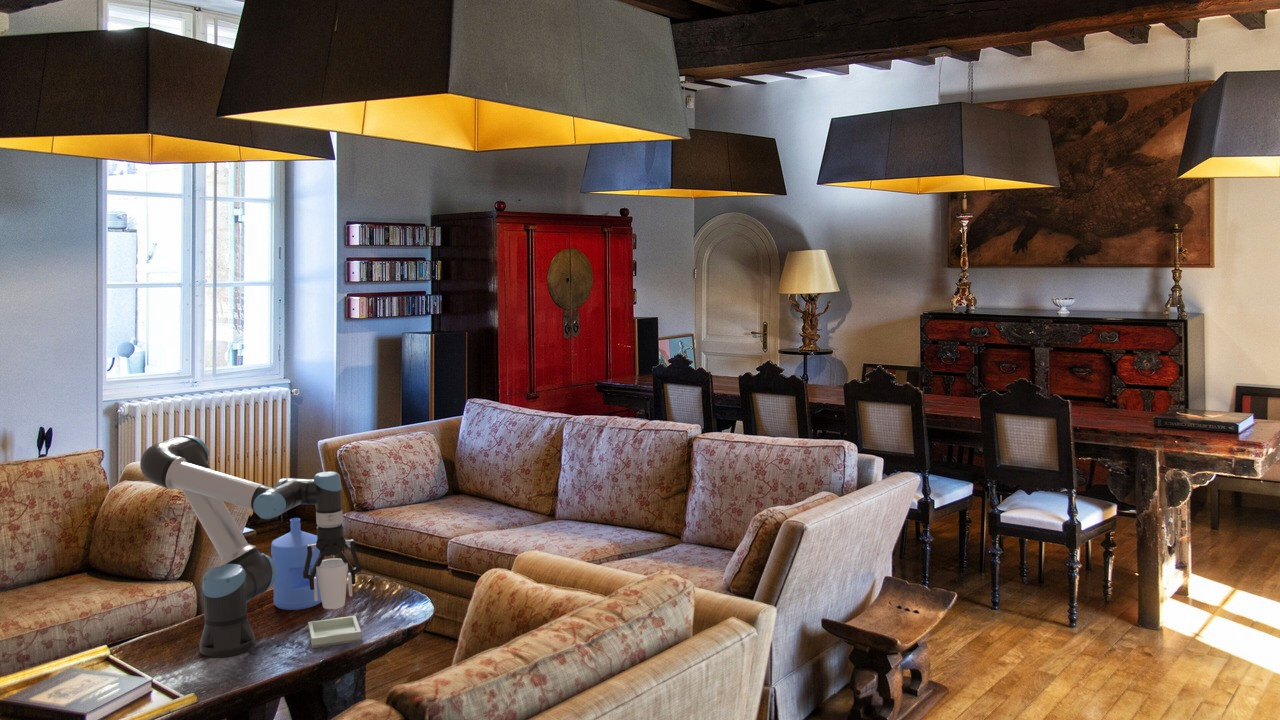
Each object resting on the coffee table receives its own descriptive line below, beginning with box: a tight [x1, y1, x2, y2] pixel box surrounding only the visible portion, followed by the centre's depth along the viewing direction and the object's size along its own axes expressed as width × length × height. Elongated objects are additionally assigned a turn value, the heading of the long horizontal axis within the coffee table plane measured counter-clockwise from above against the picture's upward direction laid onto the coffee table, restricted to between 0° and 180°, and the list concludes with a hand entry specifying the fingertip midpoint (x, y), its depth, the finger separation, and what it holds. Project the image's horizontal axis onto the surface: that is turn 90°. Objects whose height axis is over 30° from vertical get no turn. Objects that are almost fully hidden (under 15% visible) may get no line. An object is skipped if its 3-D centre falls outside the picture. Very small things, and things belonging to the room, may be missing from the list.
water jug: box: [270, 517, 322, 611], centre depth 346 cm, size 16×16×28 cm
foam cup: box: [316, 558, 349, 610], centre depth 317 cm, size 10×9×13 cm
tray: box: [307, 615, 362, 649], centre depth 319 cm, size 14×14×3 cm
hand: (333, 597), depth 318 cm, fingers closed on foam cup, 9 cm apart
